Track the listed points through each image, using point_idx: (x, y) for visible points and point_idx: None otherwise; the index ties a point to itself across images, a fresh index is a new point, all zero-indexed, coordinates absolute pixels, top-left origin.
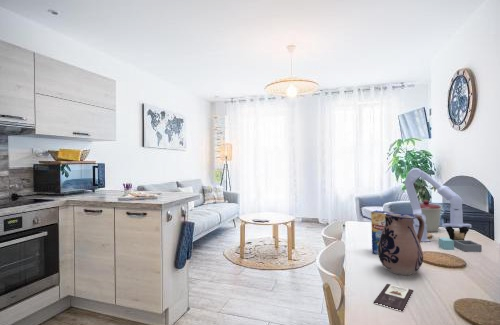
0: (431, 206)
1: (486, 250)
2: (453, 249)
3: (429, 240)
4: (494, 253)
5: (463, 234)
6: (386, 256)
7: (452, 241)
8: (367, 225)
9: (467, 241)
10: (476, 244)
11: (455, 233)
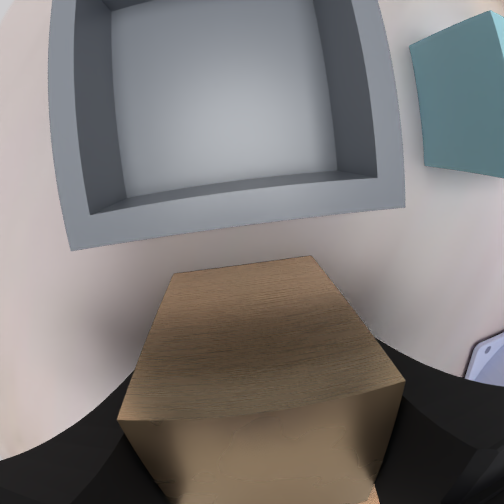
0: None
1: (16, 93)
2: (415, 46)
3: (481, 354)
4: (13, 8)
5: (147, 391)
6: None
7: (494, 18)
8: None
9: (140, 203)
10: (80, 28)
11: (378, 380)
